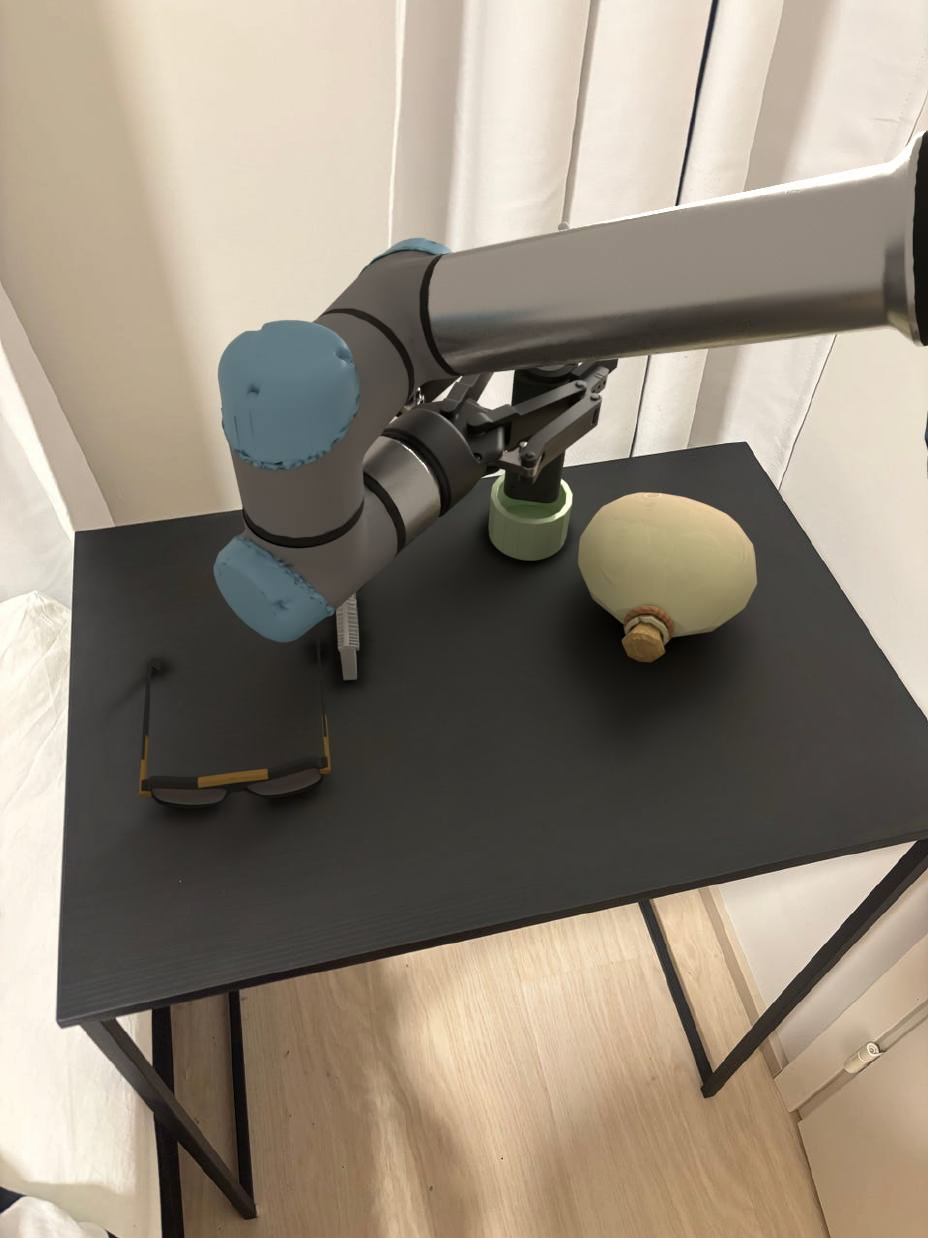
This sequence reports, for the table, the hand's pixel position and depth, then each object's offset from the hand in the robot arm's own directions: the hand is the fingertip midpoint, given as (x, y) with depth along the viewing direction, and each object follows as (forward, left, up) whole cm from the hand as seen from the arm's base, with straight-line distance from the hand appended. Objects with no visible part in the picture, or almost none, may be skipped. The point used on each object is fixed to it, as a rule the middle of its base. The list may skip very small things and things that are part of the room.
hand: (581, 336), depth 78 cm
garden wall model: (+9, +24, -20) cm, 32 cm away
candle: (+1, +5, -13) cm, 14 cm away
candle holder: (+1, +5, -19) cm, 20 cm away
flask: (-14, +8, -20) cm, 25 cm away
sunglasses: (+10, +37, -20) cm, 43 cm away
